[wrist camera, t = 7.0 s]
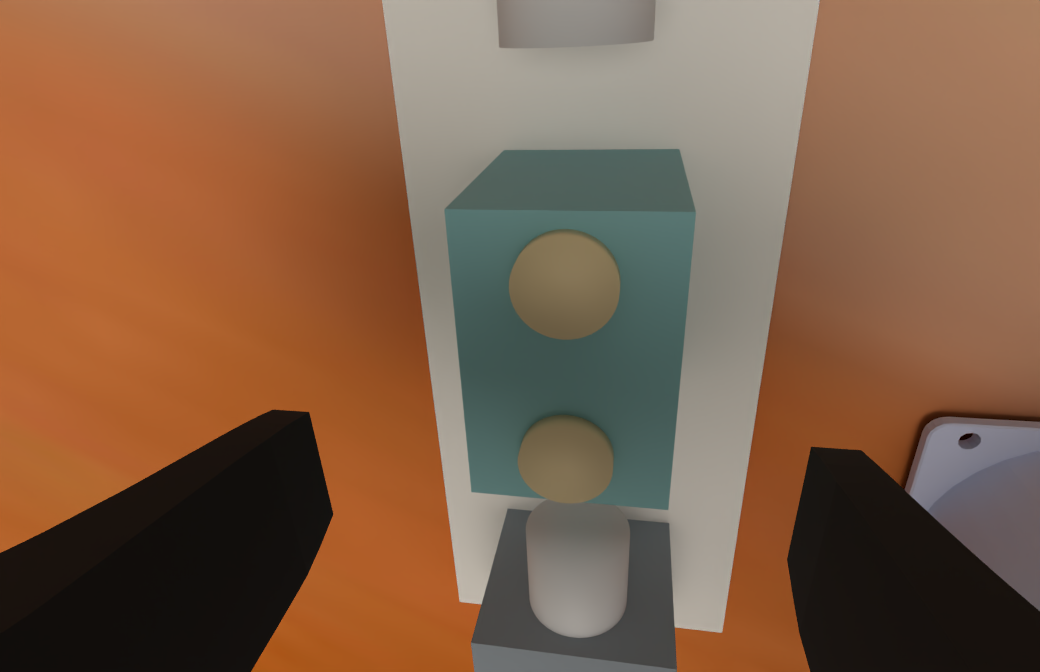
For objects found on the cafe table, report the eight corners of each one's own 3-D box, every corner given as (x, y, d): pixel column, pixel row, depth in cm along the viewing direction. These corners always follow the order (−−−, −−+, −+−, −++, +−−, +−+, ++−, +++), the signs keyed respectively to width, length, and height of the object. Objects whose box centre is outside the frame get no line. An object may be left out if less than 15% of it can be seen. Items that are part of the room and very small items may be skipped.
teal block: (661, 378, 17) (669, 524, 12) (514, 370, 17) (466, 505, 13) (679, 149, 14) (697, 219, 9) (503, 150, 15) (437, 216, 10)
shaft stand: (879, -466, 10) (1110, -934, 5) (719, 612, 21) (742, 792, 16) (349, -375, 11) (130, -664, 7) (465, 583, 23) (417, 739, 18)
